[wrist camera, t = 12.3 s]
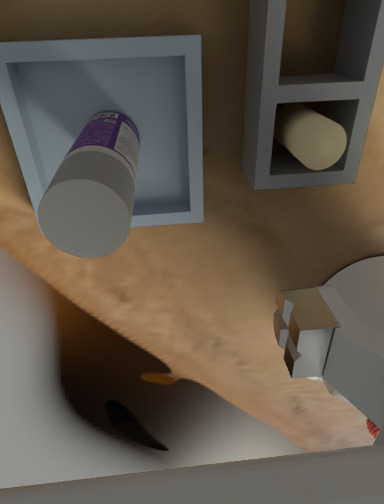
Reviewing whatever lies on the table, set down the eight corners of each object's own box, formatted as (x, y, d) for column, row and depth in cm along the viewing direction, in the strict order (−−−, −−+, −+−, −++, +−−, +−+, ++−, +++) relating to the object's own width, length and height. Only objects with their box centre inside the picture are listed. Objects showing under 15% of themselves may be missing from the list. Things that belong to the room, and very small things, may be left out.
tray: (199, 207, 35) (203, 221, 32) (49, 218, 34) (41, 234, 31) (196, 34, 27) (201, 35, 24) (-3, 41, 26) (-19, 43, 23)
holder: (329, 163, 34) (366, 192, 28) (241, 169, 33) (260, 200, 27) (398, -187, 21) (490, -266, 16) (259, -188, 21) (301, -271, 15)
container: (78, 153, 30) (26, 245, 17) (92, 99, 28) (45, 160, 15) (130, 172, 31) (117, 270, 19) (148, 122, 29) (146, 196, 17)
